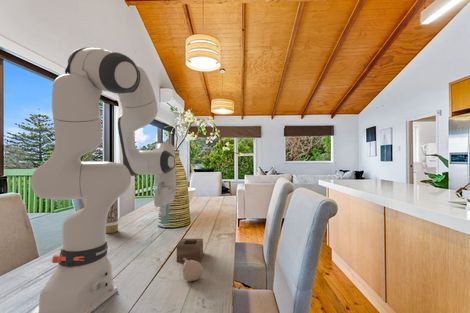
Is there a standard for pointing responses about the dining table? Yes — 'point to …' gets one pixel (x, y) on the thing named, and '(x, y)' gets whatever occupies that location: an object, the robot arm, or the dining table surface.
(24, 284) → the dining table surface
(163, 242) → the dining table surface
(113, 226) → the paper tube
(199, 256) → the socket block
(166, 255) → the dining table surface
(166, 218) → the peg
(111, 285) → the robot arm
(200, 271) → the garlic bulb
